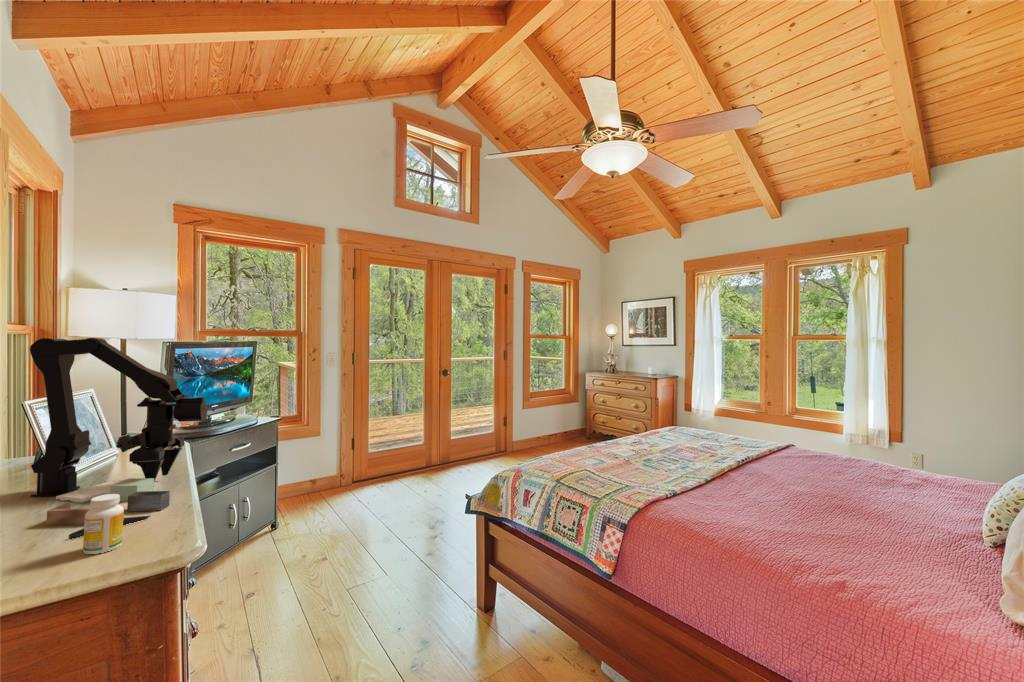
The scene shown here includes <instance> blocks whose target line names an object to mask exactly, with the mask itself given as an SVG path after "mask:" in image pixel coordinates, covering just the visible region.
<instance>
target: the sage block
mask: <svg viewBox="0 0 1024 682" xmlns="http://www.w3.org/2000/svg"><path fill="white" fill-rule="evenodd" d="M154 488H155V482H154V478H145V477H144V478H140V477H139V478H127V479H124V480H122V481H119V483H116V484H114V485H111V486H110V494H119V495H120V501H119V502H128V496H129V495H131V494H133V493H135V492H144V491H155V489H154Z"/></svg>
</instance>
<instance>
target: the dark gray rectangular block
mask: <svg viewBox="0 0 1024 682" xmlns="http://www.w3.org/2000/svg"><path fill="white" fill-rule="evenodd" d="M170 493H171V491H170V490H154V491H144V492H135V493H133V494H131V495H129V496H128V501H127V512H145V511H146V512H147V511H152V510H155V511H162V510H164V509H166V508H168V507H169V506H170V496H171V494H170Z"/></svg>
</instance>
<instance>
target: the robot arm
mask: <svg viewBox="0 0 1024 682" xmlns="http://www.w3.org/2000/svg"><path fill="white" fill-rule="evenodd" d="M29 353H30V356H31V358H32V360H33V363H34V365H35V366H36V368H38V370H39V371H40V373H42V377H43V381H44V389H45V396H46V402H47V403H46V404H47V410H48V411H47V412H48V417H49V424H50V431H49V434H48V437H47V439H46V441H45V447H44V448H45V449H44V450H45V451H44V454H43V456H41V457H40V458H38V459H37V460H36V461H35V462H34V463H31V465H30V467H31V470H32V472H33V473H34V474H37V475H36V479H37V480H36V492H34V493H31V494H30V497H56V496H59V495H63V494H66V493H70V492H74V491H77V490H80V488H81V486H80V485H77V483H78V481H77V478H78V472H77V471H76V465H77V464H79V463H80V460H81V458H82V457H83V456H85V455H86V454H87V453H88V452H89V450H90V449H89V448H90V446H92V442H91V441H90V431H89V429H86V430H82V429H81V428H80V426H78V423H77V415H76V408H75V402H74V395H73V394H74V393H73V388H72V379H71V369H72V366H73V365H74V362H75V356H76V355H79V356H80V355H87V354H88V355H89V354H90V355H91V356H93V357H95V358H97V359H98V360H100V361H102V362H103V363H105V364H106V365H107V366H108V367H109V366H110V367H111V368H113V369H114V370H116V371H118V372H119V373H121V374H122V375H124V376H125V377H127V378H129V379H130V380H131V381H133V383H134V384H135V385H136V387H137V388H138V389H139V390H140V391H142V393H144V394H145V396H147V397H144V398H143V400H142V401H140V402H139V403H138V404H137V405H136V406H137V407H138V408H144V407H145V408H146V425H145V427H143V428H142V429H141V433H138V434H134V435H131V434H126V435H123V436H120V437H118V441H116V446H115V447H116V448H117V449H120V451H121V453H125V452H128V451H130V450H132V449H134V450H133V451H131V453H129V456H128V457H129V462H131V463H132V464H133V465H137V466H139V467H140V468H141V471H142V473H143V476H144V478H154V483H155V482H156V480H157V477H158V474H159V472H160V470H161V475H162V476H168V474H169V473H170V471H171V469H172V467H173V465H174V463H175V462H176V460H177V457H178V456H179V454H180V453H181V451H182V450H183V447H184V446H185V438H184V437H182V436H179V435H178V436H174V434H173V433H174V429H176V427H177V424H175V423H174V419H175V420H177V421H178V422H179V423H184V422H185V423H187V422H192V423H193V422H205V420H206V419H207V415H208V407H207V403H206V401H205V400H206V397H205V396H197V397H187V396H186V395H185V394H184V393H183V391H181V389H180V388H179V387H178V382H177V380H176V379H175V378H174V377H172V376H169V375H167V374H164V373H163V372H160V371H157V370H153V369H151V368H148V367H146V366H145V365H143V364H142V363H140V362H138V361H137V360H135V359H134V358H133V357H130V356H129V355H127V354H126V353H124V352H123V351H122V350H119V349H118V348H116V347H115V346H113V345H111V344H110V343H108V342H107V340H105V339H103V338H101V337H100V338H99V337H88V338H83V339H64V338H49V337H45V338H44V337H43V338H39V339H37V340H35V341H34V342H33V343H31V345H30V347H29ZM137 447H138V448H137ZM135 448H136V449H135Z"/></svg>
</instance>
